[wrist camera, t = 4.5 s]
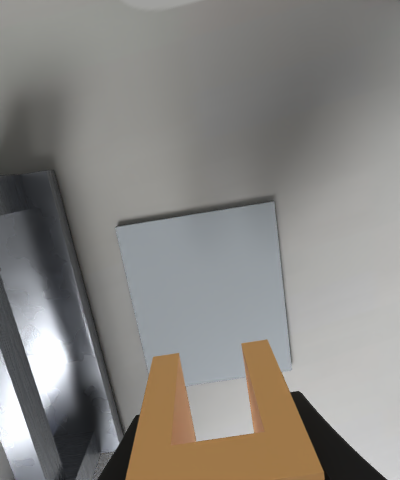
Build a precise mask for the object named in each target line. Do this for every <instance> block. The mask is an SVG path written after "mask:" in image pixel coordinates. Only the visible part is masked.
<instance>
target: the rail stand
mask: <svg viewBox="0 0 400 480" xmlns="http://www.w3.org/2000/svg"><path fill="white" fill-rule="evenodd" d="M123 437H124V436H123V432H122V428H121V424H120V420H119V416H118V413H117V409H116V405H115V401H114V397H113V394H112V390H111V386H110V382H109V378H108V375H107V371H106V367H105V363H104V359H103V355H102V352H101V348H100V344H99V340H98V336H97V333H96V329H95V325H94V321H93V317H92V314H91V310H90V306H89V302H88V298H87V295H86V291H85V287H84V283H83V279H82V275H81V272H80V268H79V264H78V260H77V256H76V253H75V249H74V245H73V241H72V237H71V234H70V230H69V226H68V222H67V218H66V214H65V211H64V207H63V203H62V199H61V195H60V192H59V188H58V184H57V180H56V176H55V173H54V170H45V171H39V172H33V173H27V174H21V175H0V440H1V443H2V445H3V448H4V451H5V453H6V456H7V459H8V461H9V464H10V467H11V469H12V472H13V475H14V477H15V480H92V478H93V475H94V472H95V469H96V466H97V463H98V460H99V457H100V454H101V453H106V452H113V451H115V450H116V449H117V447H118V445H119V444H120V442H121V440H122V438H123Z"/></svg>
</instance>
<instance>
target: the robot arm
mask: <svg viewBox="0 0 400 480" xmlns="http://www.w3.org/2000/svg"><path fill="white" fill-rule="evenodd" d="M290 394H291V396H292V398H293V401H294V403H295V405H296V408H297V410H298V412H299V415H300V417H301V419H302V422H303V424H304V426H305V429H306V431H307V433H308V436H309V438H310V440H311V443H312V445H313V447H314V450H315V452H316V455H317V457H318V459H319V462H320V464H321V466H322V469H323V471H324V477H325V480H387V479H386V478H385V477H383V476H382V475H381V474H380V473H379V472H378V471H377V470H376V469H374V468H373V467H372V466H371V465H370V464H369V463H368V462H367V461H366V460H365V459H363V458H362V457H361V456H360V455H359V454H358V453H357V452H356V451H355V450H354V449H353V448H352V447H351V446H350V445H349V444H348V443H347V442H346V441H345V440H344V439H343V438H342V437H341V436H340V435H339V434H338V433H337V432H336V431H335V430H334V429H333V428H332V427H331V426H330V425H329V424H328V423H327V422H326V421H325V419H324V418H323V417H322V416H321V415H320V414H319V413H318V412H317V411H316V409H315V408H314V407H313V406H312V405H311V404H310V402H309V401H308V400H307V399H306V398H305V396H304V395H303V394H302V393H301V392H299V391H296V392H290ZM139 417H140V415H136V416H135V418H134V419H133V421H132V423H131V424H130V426H129V428H128V430H127V431H126V433H125V435H124V437H123V438H122V440H121V442H120V444H119V445H118V447H117V449H116V450H115V452H114V454H113V455H112V457H111V459H110V460H109V462H108V463H107V465H106V467H105V468H104V470H103V471H102V473H101V475H100V476H99V478H98V479H97V480H125V479H126V475H127V470H128V466H129V461H130V457H131V452H132V448H133V443H134V439H135V435H136V430H137V426H138V421H139Z"/></svg>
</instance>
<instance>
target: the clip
mask: <svg viewBox="0 0 400 480" xmlns="http://www.w3.org/2000/svg"><path fill="white" fill-rule="evenodd" d="M241 345H242V352H243V359H244V366H245V373H246V380H247V387H248V393H249V400H250V407H251V414H252V421H253V428H254V433H253V434H246V435H239V436H232V437H226V438H219V439H212V440H205V441H198V442H196V437H195V432H194V427H193V422H192V417H191V412H190V407H189V402H188V397H187V391H186V386H185V381H184V376H183V371H182V366H181V361H180V356H179V353H175V354H168V355H162V356H155V357H153V359H152V364H151V368H150V372H149V377H148V381H147V386H146V390H145V395H144V399H143V404H142V408H141V412H140V417H139V421H138V426H137V430H136V435H135V439H134V443H133V448H132V452H131V457H130V461H129V466H128V470H127V475H126V479H125V480H325V477H324V471H323V469H322V466H321V464H320V462H319V459H318V457H317V455H316V452H315V450H314V447H313V445H312V443H311V440H310V438H309V436H308V433H307V431H306V429H305V426H304V424H303V422H302V419H301V417H300V415H299V412H298V410H297V408H296V405H295V403H294V401H293V398H292V396H291V394H290V391H289V389H288V387H287V384H286V382H285V380H284V377H283V375H282V372H281V370H280V368H279V365H278V363H277V361H276V358H275V356H274V354H273V351H272V349H271V347H270V344H269V342H268V340H267V339H266V340H260V341H253V342H247V343H241Z"/></svg>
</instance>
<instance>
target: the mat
mask: <svg viewBox="0 0 400 480" xmlns="http://www.w3.org/2000/svg"><path fill="white" fill-rule="evenodd" d="M115 229H116V234H117V238H118V242H119V247H120V251H121V256H122V260H123V264H124V269H125V273H126V278H127V282H128V286H129V291H130V295H131V300H132V304H133V308H134V313H135V317H136V322H137V326H138V330H139V335H140V339H141V344H142V348H143V352H144V357H145V361H146V366H147V370H148V374H149V372H150V368H151V364H152V359H153V357H155V356H162V355H168V354H175V353H179V356H180V361H181V366H182V371H183V376H184V381H185V386H191V385H198V384H205V383H211V382H218V381H225V380H231V379H238V378H245V377H246V373H245V366H244V359H243V352H242V345H241V343H247V342H253V341H260V340H266V339H267V340H268V342H269V344H270V347H271V349H272V351H273V354H274V356H275V358H276V361H277V363H278V365H279V368H280V370H281V372H285V371H291V370H292V365H291V356H290V346H289V337H288V327H287V318H286V308H285V298H284V289H283V279H282V270H281V260H280V251H279V241H278V232H277V222H276V213H275V203H274V201H271V202H265V203H258V204H252V205H246V206H240V207H234V208H227V209H221V210H215V211H209V212H203V213H197V214H190V215H184V216H178V217H172V218H166V219H159V220H153V221H147V222H141V223H135V224H129V225H122V226H117V227H115Z"/></svg>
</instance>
